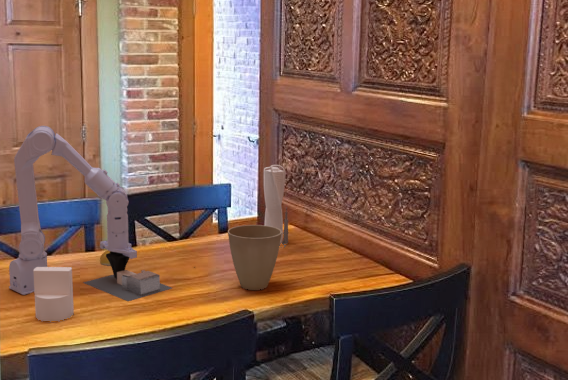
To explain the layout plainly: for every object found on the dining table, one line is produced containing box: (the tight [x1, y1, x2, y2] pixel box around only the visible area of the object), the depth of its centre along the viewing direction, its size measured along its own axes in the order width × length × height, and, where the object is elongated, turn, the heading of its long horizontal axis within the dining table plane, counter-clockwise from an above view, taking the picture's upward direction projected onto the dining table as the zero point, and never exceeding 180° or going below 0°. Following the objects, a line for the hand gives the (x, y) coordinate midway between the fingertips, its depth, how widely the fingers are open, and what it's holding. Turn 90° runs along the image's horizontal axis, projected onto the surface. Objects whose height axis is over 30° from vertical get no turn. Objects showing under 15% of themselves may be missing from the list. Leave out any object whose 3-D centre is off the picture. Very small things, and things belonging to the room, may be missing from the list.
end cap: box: [122, 269, 161, 296], centre depth 204 cm, size 8×8×4 cm
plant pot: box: [227, 224, 282, 291], centre depth 209 cm, size 15×15×16 cm
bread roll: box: [99, 249, 111, 267], centre depth 229 cm, size 8×9×4 cm
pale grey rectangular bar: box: [117, 269, 137, 285], centre depth 206 cm, size 11×3×3 cm, turn 48°
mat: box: [82, 273, 173, 302], centre depth 208 cm, size 15×21×1 cm
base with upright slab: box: [33, 266, 75, 323], centre depth 185 cm, size 9×9×12 cm
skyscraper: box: [263, 164, 289, 248], centre depth 250 cm, size 8×8×28 cm
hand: (118, 277), depth 211 cm, fingers closed
